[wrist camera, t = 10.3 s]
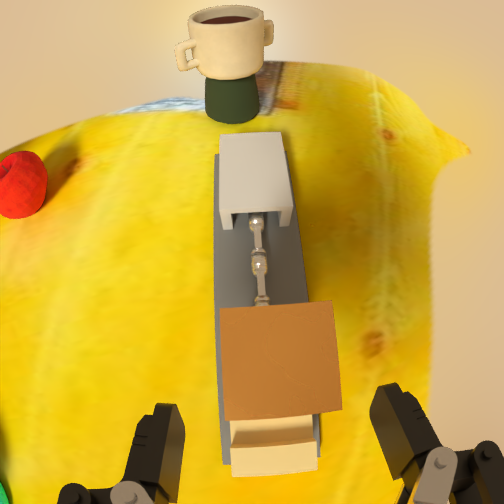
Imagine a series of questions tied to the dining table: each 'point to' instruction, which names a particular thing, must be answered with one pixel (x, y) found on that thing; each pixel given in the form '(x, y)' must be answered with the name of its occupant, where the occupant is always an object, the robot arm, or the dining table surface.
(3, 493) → the donuts
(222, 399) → the board
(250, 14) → the mug on green stand
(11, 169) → the apple
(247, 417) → the orange-brown upright block
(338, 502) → the dining table surface
